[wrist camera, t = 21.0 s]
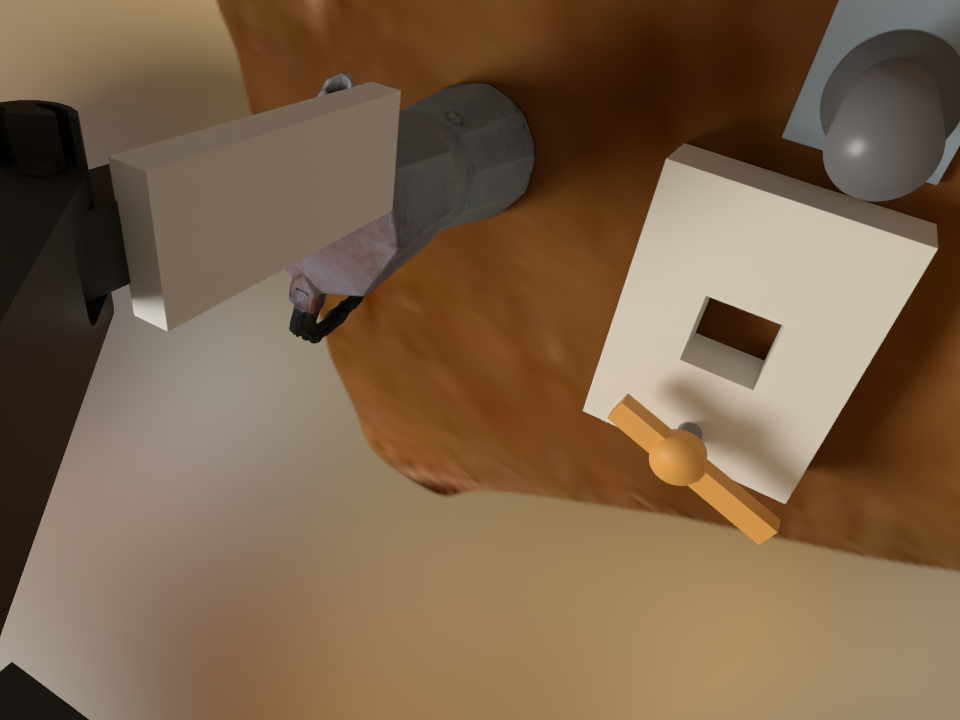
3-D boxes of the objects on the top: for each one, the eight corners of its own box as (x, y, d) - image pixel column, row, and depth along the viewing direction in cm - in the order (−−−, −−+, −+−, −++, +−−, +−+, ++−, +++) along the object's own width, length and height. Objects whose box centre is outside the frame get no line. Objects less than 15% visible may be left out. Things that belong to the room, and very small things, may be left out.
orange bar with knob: (606, 415, 46) (598, 426, 45) (635, 385, 44) (628, 396, 43) (753, 538, 45) (748, 553, 44) (790, 513, 43) (787, 528, 42)
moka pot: (569, 57, 43) (377, 119, 28) (517, 279, 52) (349, 419, 37) (435, 16, 46) (193, 51, 31) (407, 233, 55) (208, 345, 40)
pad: (850, -26, 35) (849, -26, 35) (1030, 15, 33) (1032, 16, 32) (783, 135, 40) (781, 137, 39) (936, 182, 37) (937, 185, 37)
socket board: (684, 143, 42) (656, 166, 38) (936, 224, 38) (938, 261, 33) (602, 383, 52) (572, 424, 48) (793, 468, 48) (780, 522, 44)
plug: (863, 7, 35) (834, 38, 23) (987, 37, 33) (1022, 87, 22) (813, 122, 38) (766, 199, 27) (924, 155, 36) (926, 252, 25)
